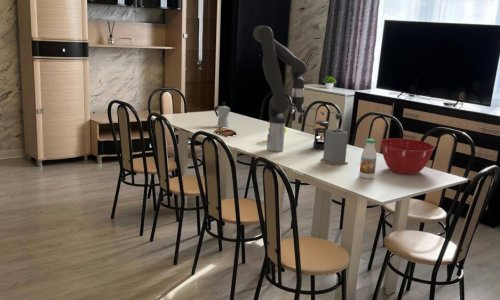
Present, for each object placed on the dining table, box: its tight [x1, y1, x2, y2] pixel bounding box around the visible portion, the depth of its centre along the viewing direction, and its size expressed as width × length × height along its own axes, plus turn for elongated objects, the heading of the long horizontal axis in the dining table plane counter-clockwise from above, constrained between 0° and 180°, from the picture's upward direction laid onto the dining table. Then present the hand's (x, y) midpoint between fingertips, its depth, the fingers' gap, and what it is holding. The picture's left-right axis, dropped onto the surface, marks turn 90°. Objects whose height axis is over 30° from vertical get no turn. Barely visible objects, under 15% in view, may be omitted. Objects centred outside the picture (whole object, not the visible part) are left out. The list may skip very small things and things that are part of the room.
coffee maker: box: [213, 102, 232, 128], centre depth 374 cm, size 15×9×18 cm, turn 58°
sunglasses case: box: [213, 126, 237, 137], centre depth 351 cm, size 18×7×7 cm, turn 40°
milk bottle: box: [358, 138, 378, 180], centre depth 263 cm, size 8×8×20 cm
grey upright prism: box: [320, 128, 349, 166], centre depth 290 cm, size 11×11×18 cm
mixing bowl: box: [379, 138, 436, 175], centre depth 279 cm, size 28×28×16 cm
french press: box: [312, 111, 331, 151], centre depth 323 cm, size 12×9×23 cm
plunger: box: [335, 113, 342, 133], centre depth 287 cm, size 7×7×14 cm
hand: (296, 121), depth 314 cm, fingers open, 8 cm apart
